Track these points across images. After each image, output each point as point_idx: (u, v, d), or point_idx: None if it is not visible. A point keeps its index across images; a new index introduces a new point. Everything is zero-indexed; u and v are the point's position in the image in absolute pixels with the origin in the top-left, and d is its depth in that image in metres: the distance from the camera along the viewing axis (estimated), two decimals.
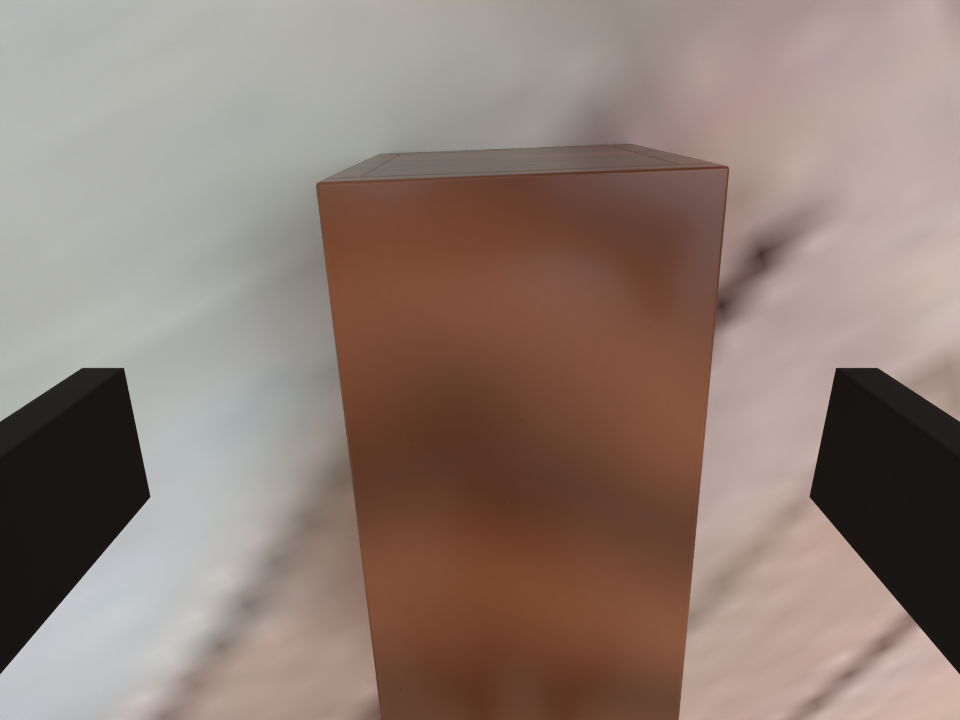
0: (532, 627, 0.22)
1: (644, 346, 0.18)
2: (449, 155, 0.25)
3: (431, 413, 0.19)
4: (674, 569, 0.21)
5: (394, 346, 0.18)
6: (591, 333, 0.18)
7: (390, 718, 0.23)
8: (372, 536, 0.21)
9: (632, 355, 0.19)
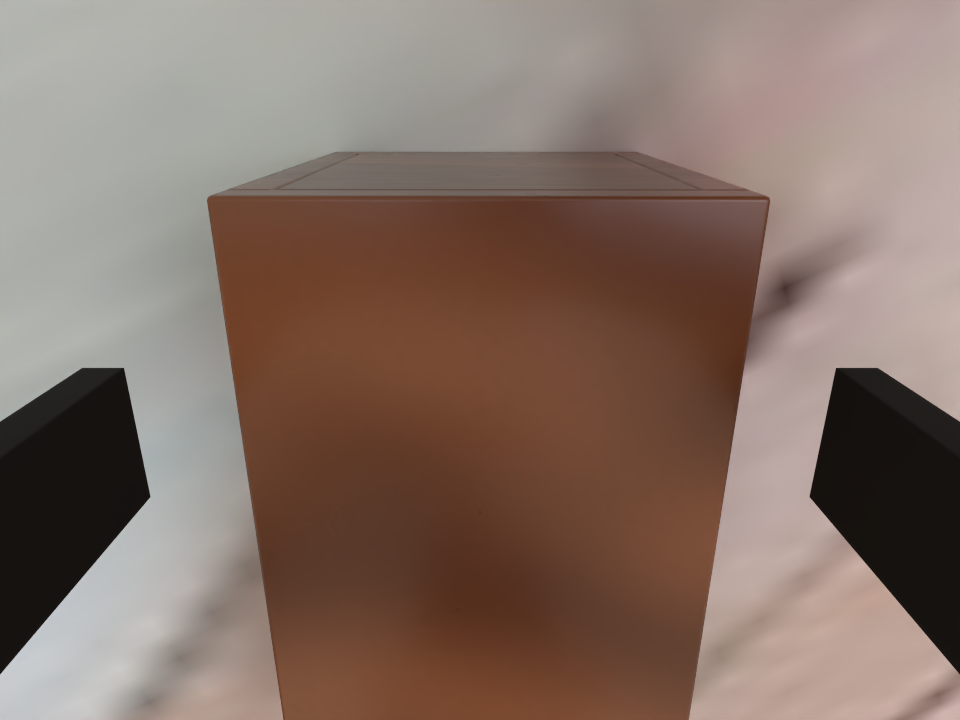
0: None
1: (644, 426, 0.14)
2: (415, 158, 0.20)
3: (364, 499, 0.15)
4: (670, 695, 0.17)
5: (314, 414, 0.14)
6: (575, 407, 0.14)
7: None
8: (288, 643, 0.16)
9: (628, 437, 0.14)
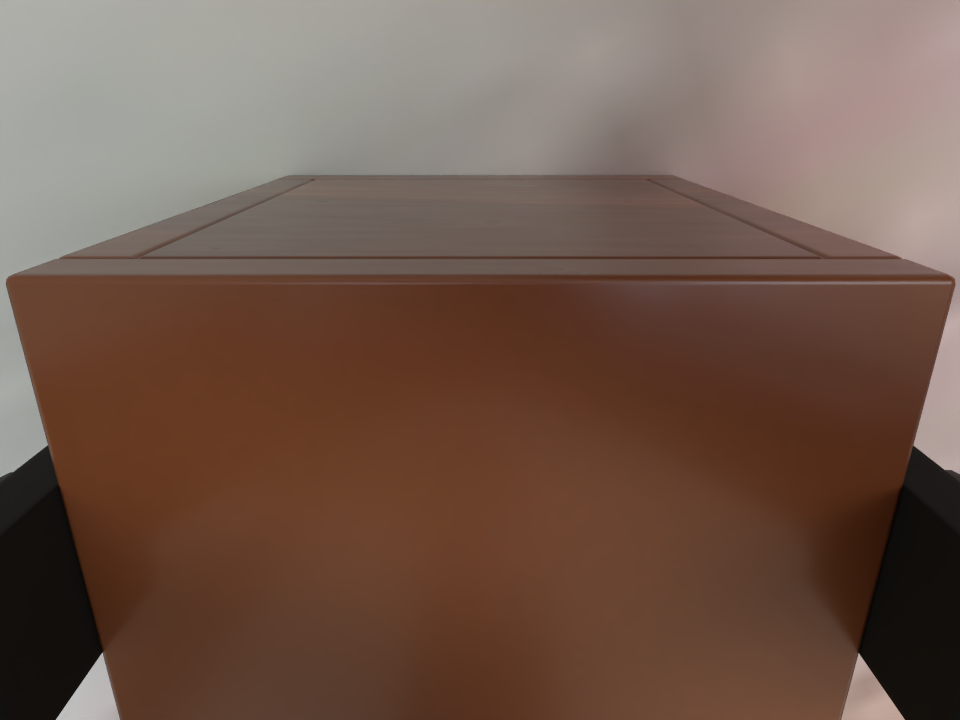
0: None
1: (726, 621, 0.09)
2: (385, 187, 0.15)
3: None
4: None
5: (208, 604, 0.09)
6: (619, 594, 0.09)
7: None
8: None
9: (700, 636, 0.09)
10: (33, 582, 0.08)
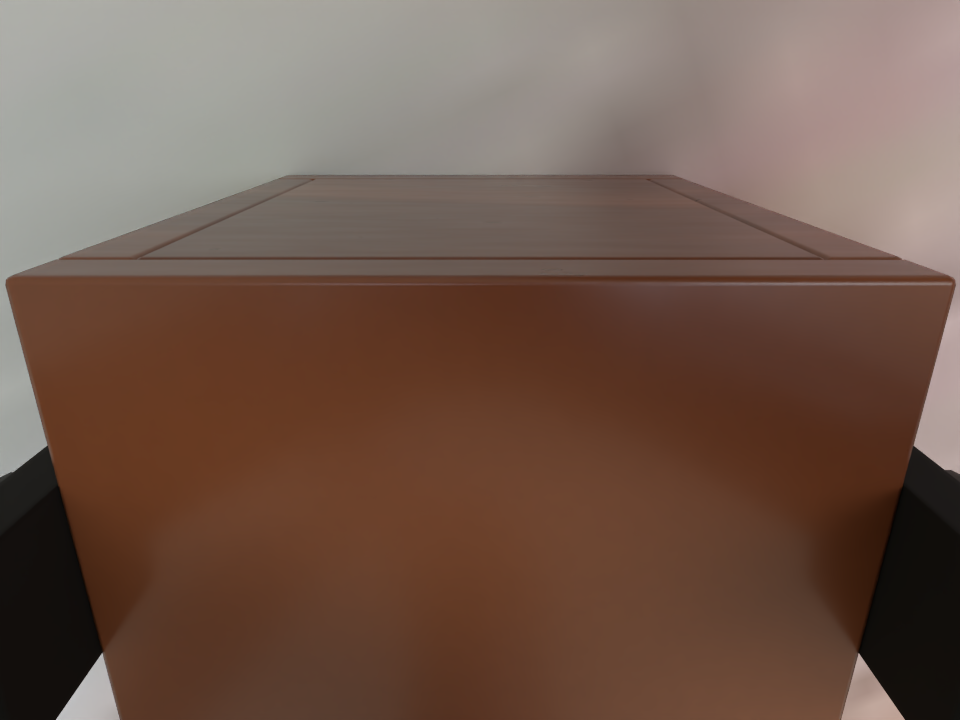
0: None
1: (726, 621, 0.09)
2: (385, 186, 0.15)
3: None
4: None
5: (208, 605, 0.09)
6: (619, 595, 0.09)
7: None
8: None
9: (700, 636, 0.09)
10: (33, 582, 0.08)
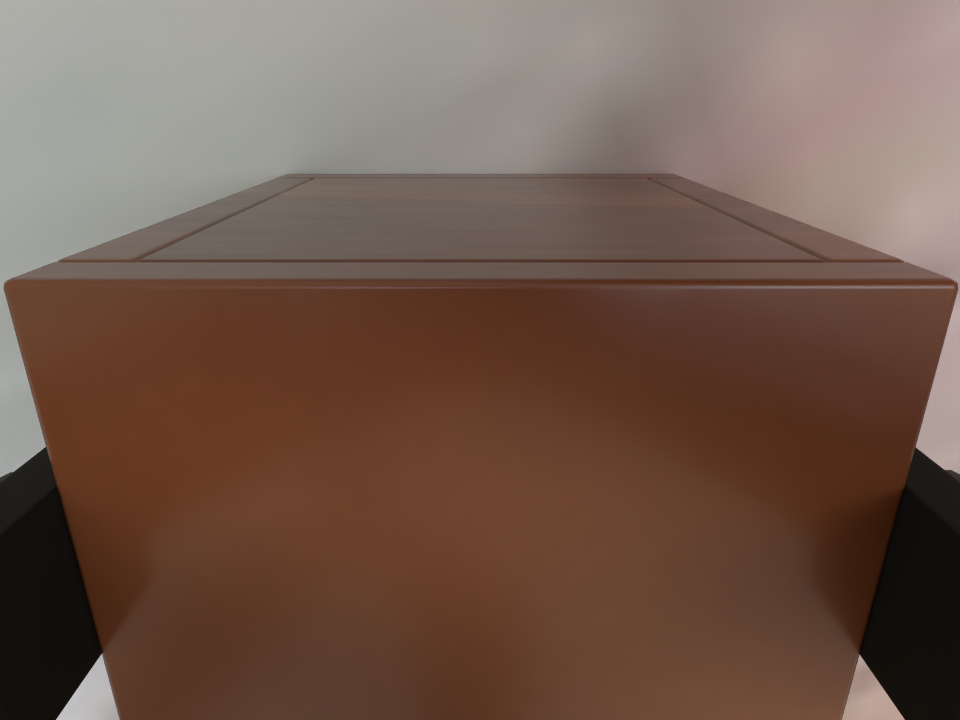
0: None
1: (727, 624, 0.09)
2: (385, 186, 0.15)
3: None
4: None
5: (208, 608, 0.09)
6: (620, 598, 0.09)
7: None
8: None
9: (701, 639, 0.09)
10: (33, 582, 0.08)
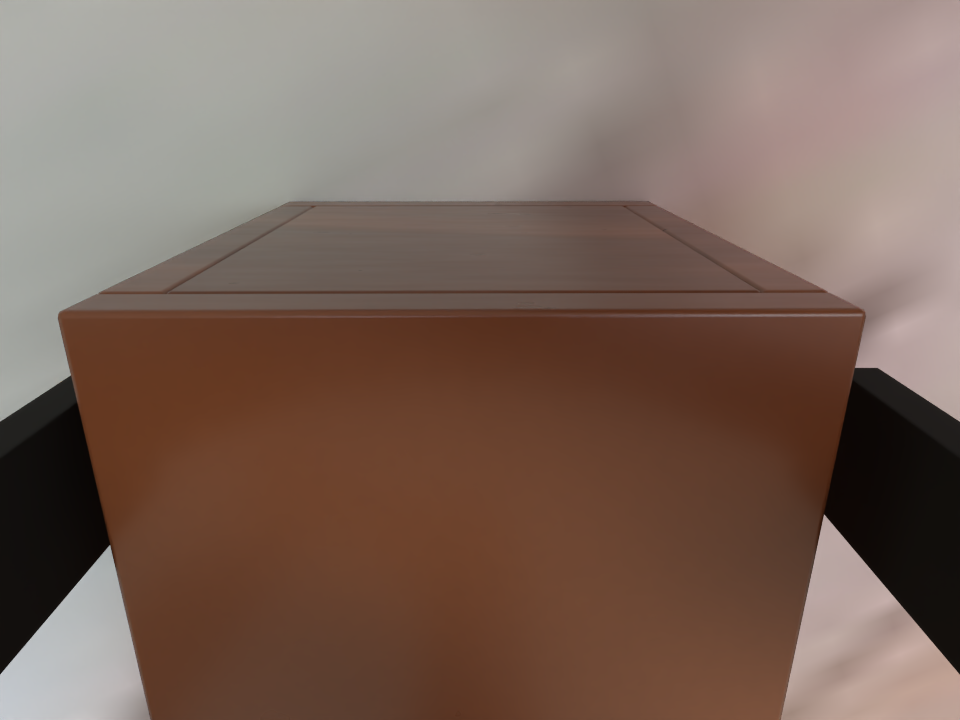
0: None
1: (682, 607, 0.10)
2: (381, 215, 0.17)
3: (301, 699, 0.11)
4: None
5: (227, 595, 0.10)
6: (587, 584, 0.10)
7: None
8: None
9: (659, 620, 0.10)
10: None
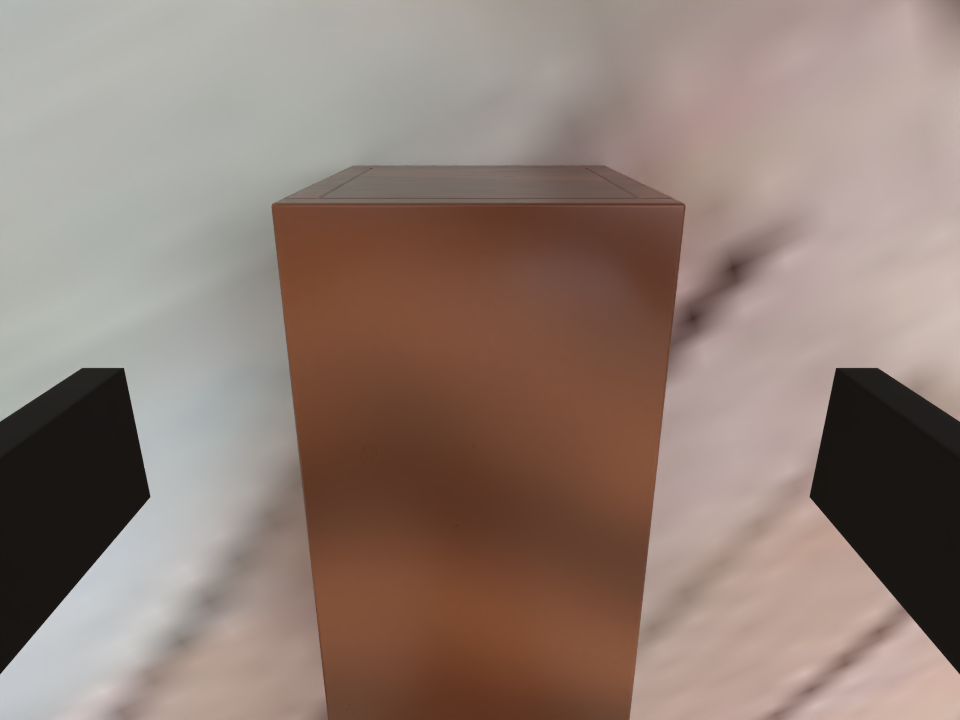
0: (482, 649, 0.22)
1: (598, 377, 0.18)
2: (420, 171, 0.25)
3: (384, 436, 0.19)
4: (624, 597, 0.21)
5: (347, 368, 0.18)
6: (545, 362, 0.18)
7: None
8: (323, 555, 0.21)
9: (586, 385, 0.19)
10: None
